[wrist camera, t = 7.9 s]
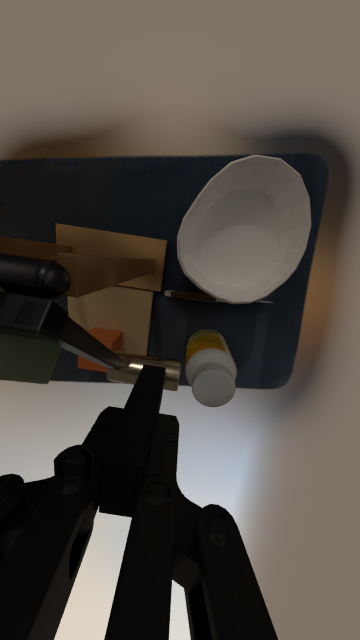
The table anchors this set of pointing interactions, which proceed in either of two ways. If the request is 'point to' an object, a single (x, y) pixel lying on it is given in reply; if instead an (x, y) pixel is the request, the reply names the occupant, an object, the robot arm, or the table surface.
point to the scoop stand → (98, 258)
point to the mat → (116, 314)
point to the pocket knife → (196, 296)
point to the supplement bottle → (210, 368)
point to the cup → (246, 230)
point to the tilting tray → (54, 327)
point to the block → (107, 338)
